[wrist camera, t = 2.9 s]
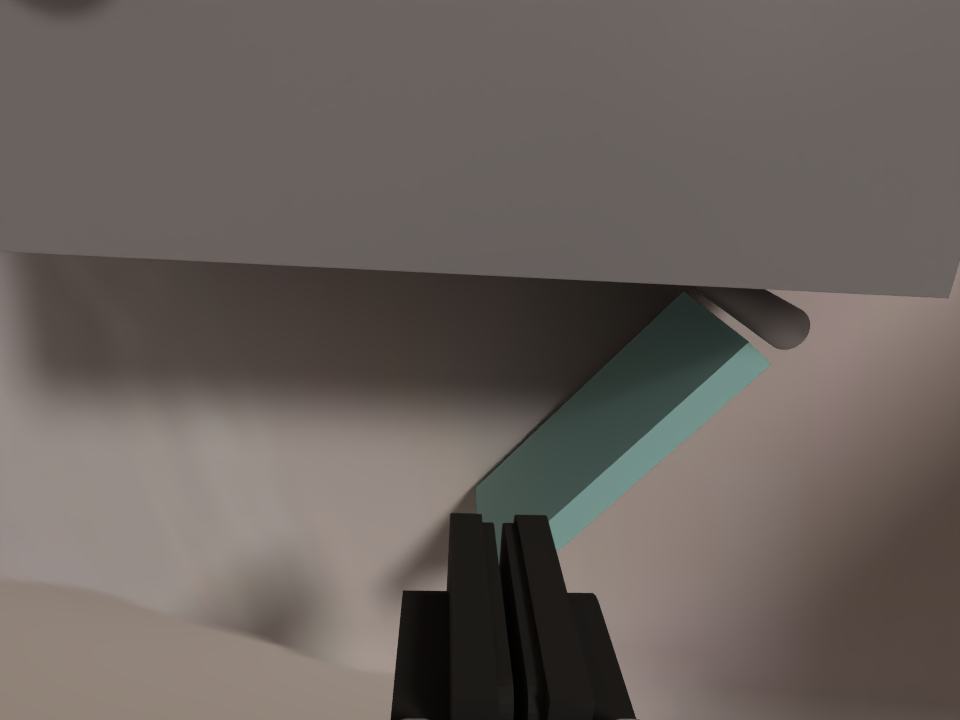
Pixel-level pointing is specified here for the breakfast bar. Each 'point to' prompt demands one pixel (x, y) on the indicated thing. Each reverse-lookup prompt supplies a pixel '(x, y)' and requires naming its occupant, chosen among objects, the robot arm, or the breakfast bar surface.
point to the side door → (637, 410)
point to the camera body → (493, 137)
